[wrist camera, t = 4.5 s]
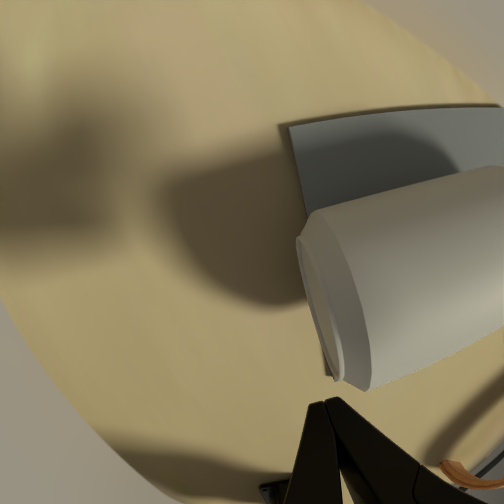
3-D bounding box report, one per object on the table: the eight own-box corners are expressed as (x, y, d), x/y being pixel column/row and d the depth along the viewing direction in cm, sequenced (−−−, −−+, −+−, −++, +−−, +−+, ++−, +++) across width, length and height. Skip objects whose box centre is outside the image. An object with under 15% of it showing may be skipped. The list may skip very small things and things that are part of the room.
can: (333, 287, 7) (583, 190, 6) (279, 192, 14) (479, 145, 13) (348, 431, 10) (547, 325, 10) (308, 317, 17) (475, 257, 16)
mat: (514, 302, 18) (518, 305, 17) (332, 377, 18) (334, 381, 18) (512, 108, 13) (517, 108, 13) (287, 127, 14) (289, 127, 13)
